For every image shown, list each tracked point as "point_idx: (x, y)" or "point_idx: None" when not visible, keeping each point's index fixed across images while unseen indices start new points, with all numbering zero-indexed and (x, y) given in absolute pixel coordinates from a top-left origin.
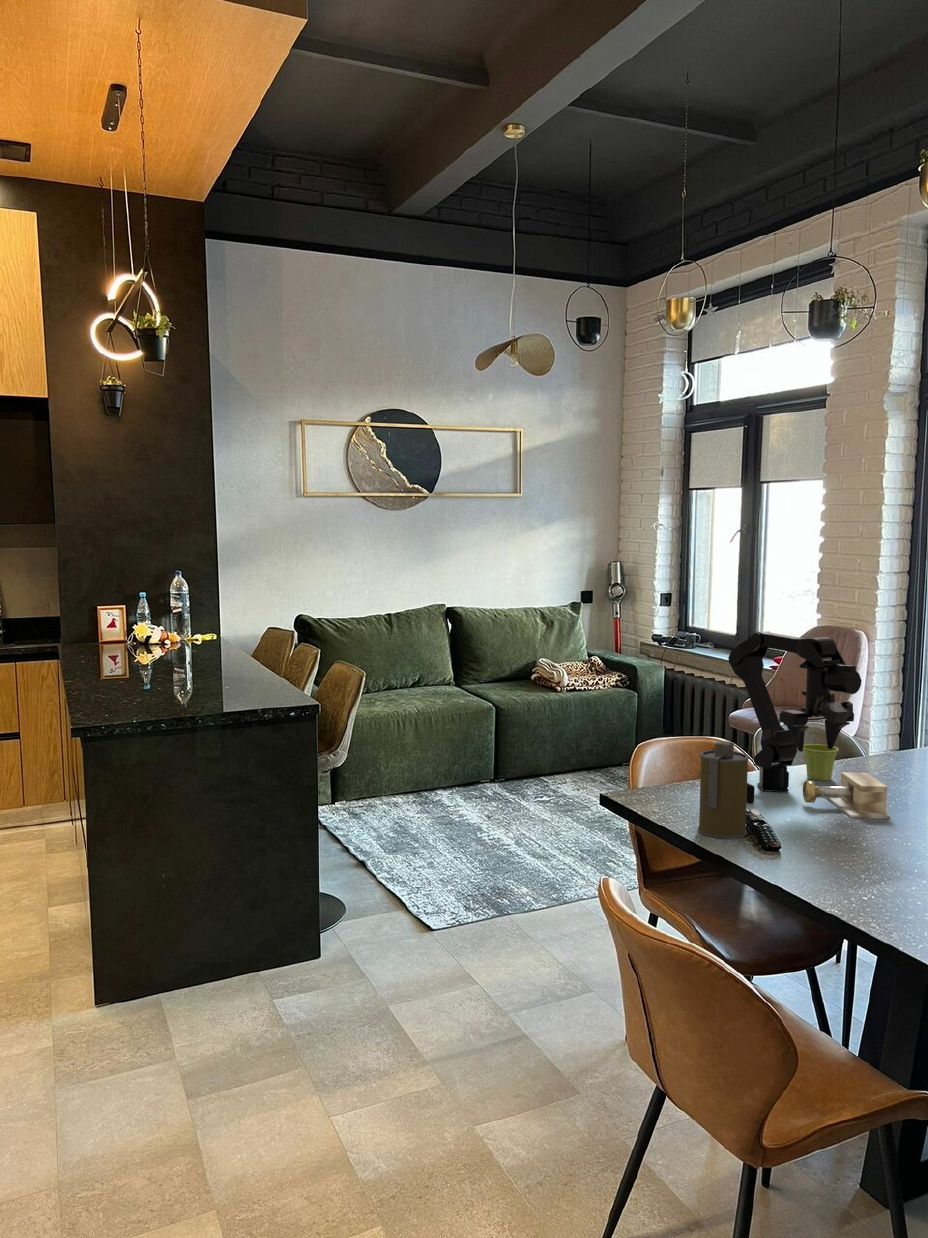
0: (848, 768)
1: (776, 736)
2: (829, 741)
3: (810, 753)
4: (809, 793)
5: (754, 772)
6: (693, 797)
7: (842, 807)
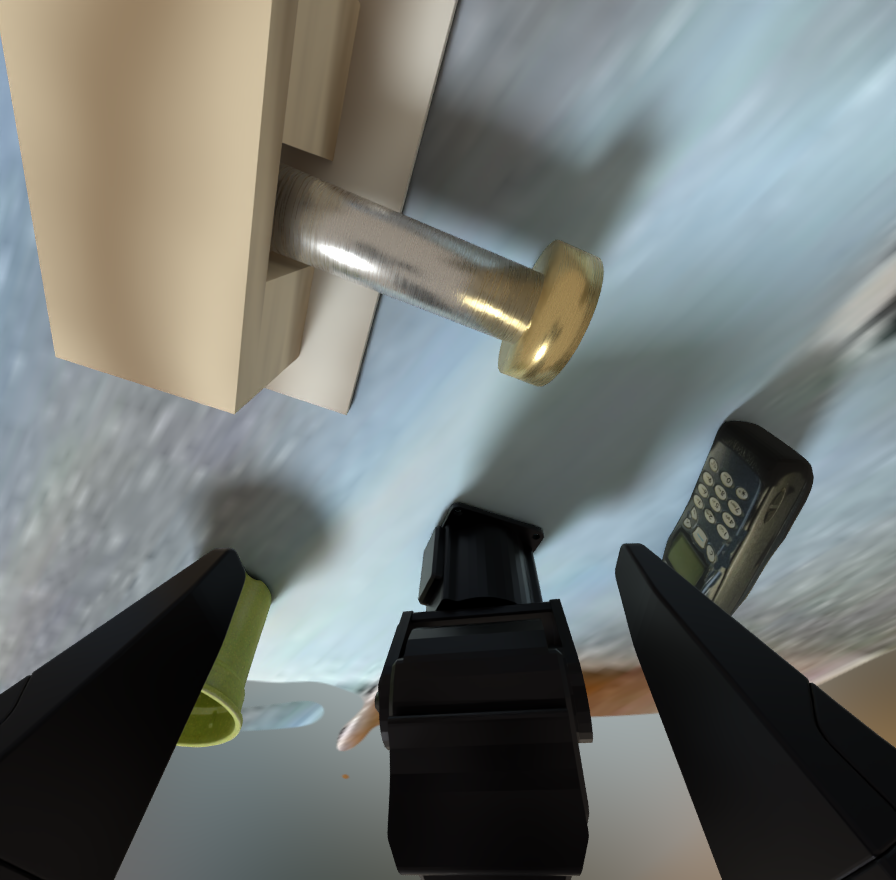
0: (81, 637)
1: (573, 816)
2: (195, 638)
3: (230, 685)
4: (598, 260)
5: None
6: (855, 541)
7: (401, 173)
